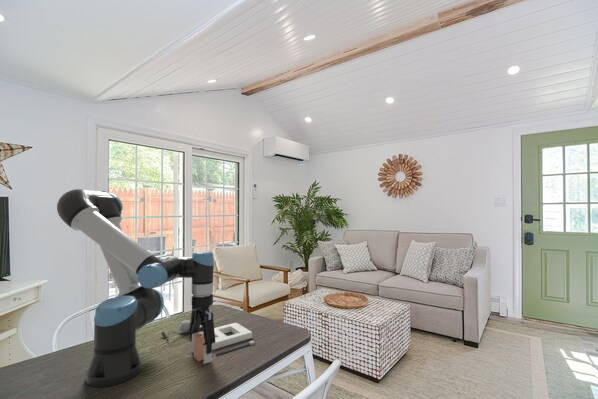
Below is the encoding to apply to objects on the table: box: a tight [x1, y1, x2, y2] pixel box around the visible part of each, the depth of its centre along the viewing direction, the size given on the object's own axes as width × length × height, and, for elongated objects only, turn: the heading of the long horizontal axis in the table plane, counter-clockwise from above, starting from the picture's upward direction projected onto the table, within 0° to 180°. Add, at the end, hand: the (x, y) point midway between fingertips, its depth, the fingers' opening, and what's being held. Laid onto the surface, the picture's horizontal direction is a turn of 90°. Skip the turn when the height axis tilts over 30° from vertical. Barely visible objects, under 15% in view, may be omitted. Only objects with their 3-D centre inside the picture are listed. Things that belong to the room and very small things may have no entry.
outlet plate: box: [200, 322, 253, 351], centre depth 124 cm, size 20×14×3 cm
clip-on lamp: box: [160, 319, 204, 340], centre depth 128 cm, size 12×6×18 cm
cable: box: [215, 340, 256, 356], centre depth 115 cm, size 16×1×1 cm, turn 130°
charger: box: [193, 332, 205, 362], centre depth 109 cm, size 4×4×8 cm
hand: (201, 356), depth 108 cm, fingers open, 10 cm apart
